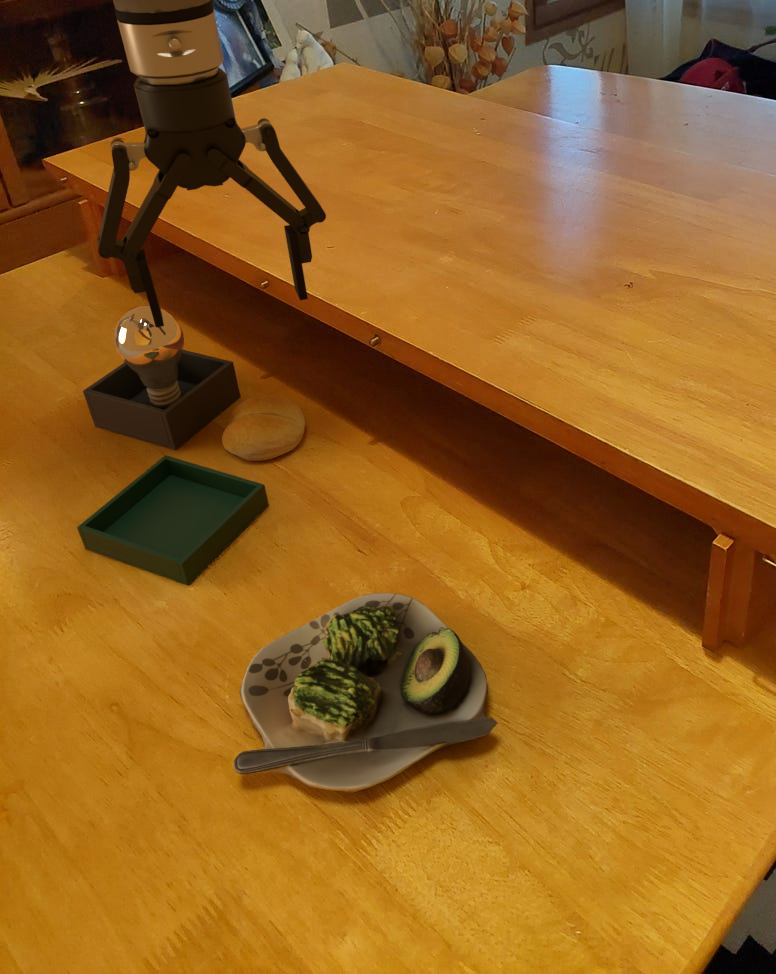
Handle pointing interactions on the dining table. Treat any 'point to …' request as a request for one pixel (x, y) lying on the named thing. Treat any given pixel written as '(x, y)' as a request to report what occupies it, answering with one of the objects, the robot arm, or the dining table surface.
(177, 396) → the light bulb
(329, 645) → the avocado toast plate
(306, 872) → the dining table surface
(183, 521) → the tray
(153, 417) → the bin
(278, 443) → the bread roll
